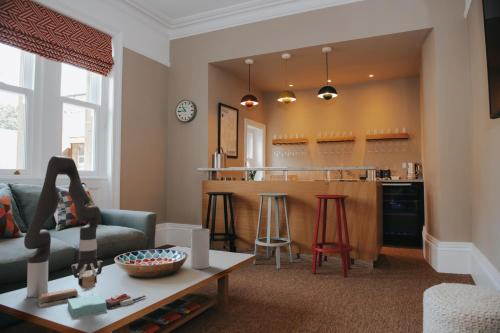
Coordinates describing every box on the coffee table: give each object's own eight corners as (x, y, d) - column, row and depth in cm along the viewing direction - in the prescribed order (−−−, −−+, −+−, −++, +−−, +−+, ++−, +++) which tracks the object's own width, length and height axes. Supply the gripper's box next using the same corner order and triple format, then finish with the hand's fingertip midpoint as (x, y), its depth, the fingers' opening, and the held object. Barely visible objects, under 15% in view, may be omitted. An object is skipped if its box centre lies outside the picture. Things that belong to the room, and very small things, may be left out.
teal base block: (67, 308, 165) (68, 299, 166) (99, 301, 174) (99, 293, 174) (72, 318, 154) (72, 308, 154) (106, 311, 162) (106, 302, 162)
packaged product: (40, 298, 164) (37, 292, 172) (40, 308, 164) (36, 302, 172) (81, 290, 176) (76, 285, 184) (81, 300, 176) (76, 294, 183)
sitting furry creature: (95, 286, 196) (95, 264, 196) (78, 287, 193) (78, 266, 194) (97, 281, 205) (97, 260, 205) (81, 282, 202) (81, 261, 203)
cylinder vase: (187, 266, 239) (187, 229, 240) (202, 263, 247) (203, 228, 248) (196, 270, 230) (197, 232, 230) (212, 267, 238) (213, 230, 238)
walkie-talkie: (110, 311, 162) (146, 299, 178) (110, 301, 162) (146, 290, 178) (100, 307, 167) (136, 295, 183) (100, 297, 167) (136, 287, 183)
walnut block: (80, 285, 165) (80, 275, 165) (92, 284, 168) (92, 273, 168) (82, 288, 161) (82, 277, 161) (94, 286, 163) (94, 275, 164)
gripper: (102, 245, 172) (101, 280, 171) (69, 249, 163) (69, 285, 163) (105, 248, 166) (105, 284, 165) (72, 251, 157) (71, 290, 157)
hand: (87, 284), depth 164 cm, fingers closed on walnut block, 5 cm apart
